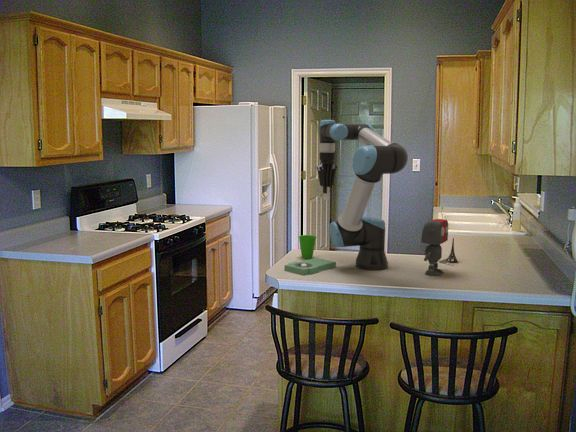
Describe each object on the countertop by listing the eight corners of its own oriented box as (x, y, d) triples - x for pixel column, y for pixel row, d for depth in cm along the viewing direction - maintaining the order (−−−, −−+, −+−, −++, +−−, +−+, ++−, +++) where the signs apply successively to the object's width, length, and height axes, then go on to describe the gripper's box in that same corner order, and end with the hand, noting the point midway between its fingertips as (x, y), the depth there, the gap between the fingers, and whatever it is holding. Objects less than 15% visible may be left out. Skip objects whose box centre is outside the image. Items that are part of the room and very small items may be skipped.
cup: (314, 260, 278) (315, 238, 277) (296, 259, 280) (296, 237, 278) (317, 256, 287) (317, 235, 285) (299, 255, 289) (300, 234, 287)
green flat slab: (315, 262, 275) (315, 257, 274) (337, 267, 265) (337, 262, 264) (282, 270, 259) (283, 264, 259) (305, 275, 249) (305, 270, 249)
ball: (307, 270, 260) (309, 266, 258) (302, 272, 258) (304, 268, 256) (303, 265, 261) (305, 261, 259) (298, 267, 259) (300, 263, 257)
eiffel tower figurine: (448, 258, 287) (450, 232, 285) (467, 261, 280) (469, 235, 278) (434, 263, 276) (435, 236, 274) (453, 267, 269) (455, 239, 267)
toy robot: (435, 279, 244) (439, 211, 239) (415, 276, 248) (418, 209, 244) (450, 269, 262) (453, 205, 257) (431, 267, 267) (433, 203, 262)
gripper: (330, 151, 284) (329, 198, 287) (312, 151, 274) (311, 200, 278) (341, 151, 278) (340, 199, 282) (324, 152, 269) (323, 201, 273)
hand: (326, 199), depth 280 cm, fingers closed
